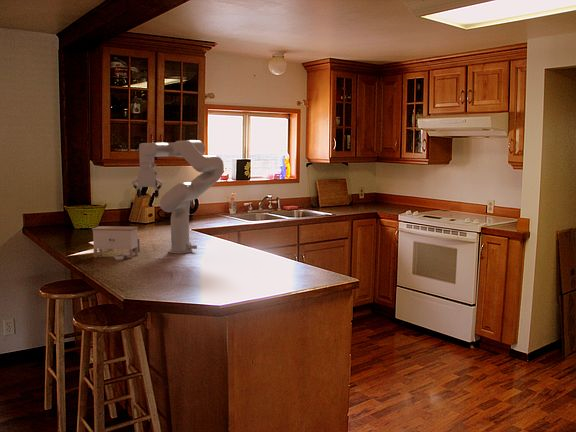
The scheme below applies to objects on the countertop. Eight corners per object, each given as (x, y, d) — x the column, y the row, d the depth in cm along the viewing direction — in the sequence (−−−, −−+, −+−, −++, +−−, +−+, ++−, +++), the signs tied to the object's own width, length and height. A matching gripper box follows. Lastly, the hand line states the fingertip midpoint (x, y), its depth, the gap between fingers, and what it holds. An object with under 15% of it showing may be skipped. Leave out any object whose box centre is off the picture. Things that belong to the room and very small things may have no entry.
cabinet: (138, 255, 297) (138, 226, 295) (131, 258, 288) (131, 229, 286) (100, 254, 299) (99, 226, 298) (92, 257, 290) (91, 228, 288)
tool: (139, 251, 307) (139, 238, 306) (127, 257, 290) (126, 244, 289) (132, 251, 308) (132, 238, 307) (119, 257, 291) (119, 244, 290)
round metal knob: (125, 259, 287) (125, 255, 287) (121, 261, 283) (121, 257, 283) (116, 259, 288) (116, 255, 288) (113, 260, 283) (113, 256, 283)
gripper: (164, 165, 314) (165, 196, 316) (134, 165, 315) (135, 196, 318) (160, 166, 306) (161, 198, 308) (128, 166, 308) (130, 197, 310)
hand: (147, 197), depth 313 cm, fingers open, 9 cm apart
